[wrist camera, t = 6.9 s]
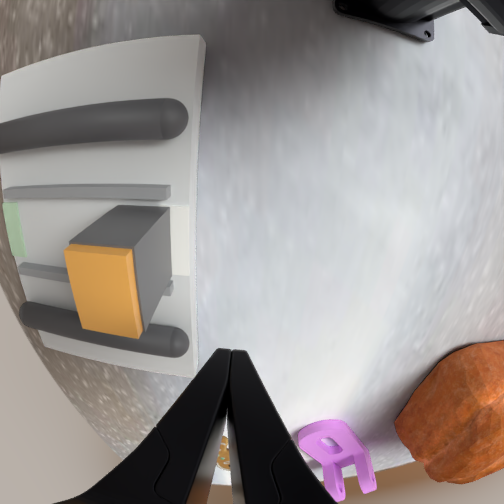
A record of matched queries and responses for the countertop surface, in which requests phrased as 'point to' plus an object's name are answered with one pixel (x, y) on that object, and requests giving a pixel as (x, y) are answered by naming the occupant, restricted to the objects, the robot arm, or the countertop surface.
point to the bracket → (337, 455)
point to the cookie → (223, 455)
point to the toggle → (121, 269)
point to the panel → (104, 183)
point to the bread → (458, 416)
